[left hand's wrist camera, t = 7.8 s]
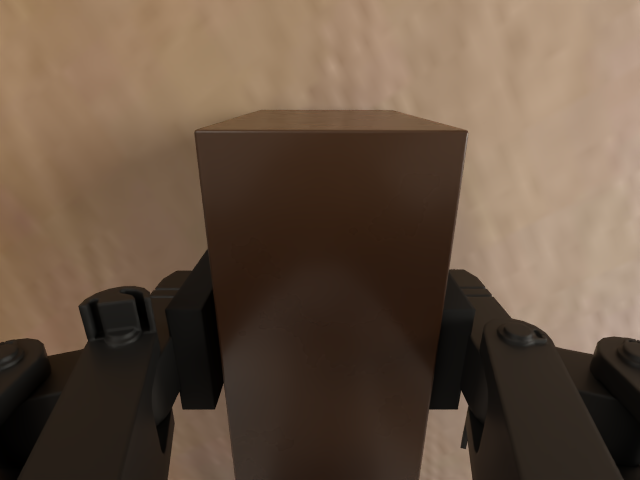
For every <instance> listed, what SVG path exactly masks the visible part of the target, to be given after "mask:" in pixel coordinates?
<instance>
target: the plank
mask: <svg viewBox="0 0 640 480" xmlns="http://www.w3.org/2000/svg"><path fill="white" fill-rule="evenodd" d="M194 134H195V142H196V151H197V159H198V168H199V176H200V185H201V193H202V202H203V210H204V219H205V227H206V236H207V244H208V253H209V261H210V269H211V278H212V286H213V295H214V303H215V312H216V320H217V329H218V337H219V346H220V354H221V363H222V371H223V379H224V388H225V396H226V405H227V413H228V422H229V430H230V439H231V447H232V456H233V464H234V473H235V480H419V476H420V469H421V462H422V455H423V448H424V441H425V434H426V427H427V420H428V413H429V406H430V399H431V392H432V385H433V378H434V371H435V364H436V357H437V350H438V343H439V336H440V329H441V322H442V315H443V308H444V301H445V294H446V287H447V280H448V273H449V266H450V259H451V252H452V245H453V238H454V231H455V224H456V217H457V210H458V203H459V196H460V189H461V182H462V175H463V168H464V161H465V154H466V147H467V139H468V131H467V130H464V129H460V128H456V127H452V126H449V125H445V124H441V123H438V122H434V121H430V120H426V119H423V118H419V117H415V116H412V115H408V114H404V113H400V112H397V111H393V110H260V111H256V112H253V113H250V114H246V115H243V116H240V117H237V118H233V119H230V120H227V121H224V122H220V123H217V124H214V125H210V126H207V127H204V128H201V129H197V130H195V132H194Z"/></svg>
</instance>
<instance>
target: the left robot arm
mask: <svg viewBox="0 0 640 480" xmlns="http://www.w3.org/2000/svg"><path fill="white" fill-rule="evenodd" d="M78 307H79V310H80V314H81V317H82V321H83V325H84V328H85V332H86V335H87V339H88V342H87V344H86V346H85V348H84V349H81V350H77V351H72V352H67V353H62V354H56V355H51V356H47V353H46V350H45V347H44V344H43V343H41V342H40V341H39V340H36V339H28V338H26V339H17V340H9V341H6V342H1V343H0V480H168V472H169V464H170V456H171V448H172V440H173V432H174V424H175V423H174V416H173V411H172V406H173V404H174V402H175V400H176V397H177V395H178V393H179V392H180V397H181V403H182V408H183V409H215V408H216V405H217V402H218V399H219V396H220V393H221V389H222V386H223V383H224V379H223V371H222V363H221V354H220V346H219V337H218V329H217V320H216V312H215V303H214V295H213V286H212V278H211V269H210V261H209V253H208V249H207V251H206V252H205V253H204V255H203V256H202V258H201V259H200V261H199V262H198V263H197V265H196V266H195V268H194V269H193V270H192V271H176V272H174V273H172V274H171V275H169V276H167V277H166V278H164V279H163V280H162V281H161V282H160V283H159V285H158V286H157V287H156V288H155V290H154V291H153V292H152V293H151V294H150V292H149V291H147V290H146V289H145V288H141V287H136V286H122V287H117V288H112V289H108V290H105V291H102V292H99V293H96V294H94V295H92V296H91V297H89V298H87V299H85V300H84V301H83V302H82V303H81V304H80V305H79V306H78ZM461 390H462V393H463V395H464V397H465V399H466V401H467V403H468V405H469V406H468V411H467V416H466V421H465V426H464V431H463V437H462V442H461V448H463V449H466V446H467V441H468V447H469V455H470V463H471V471H472V479H473V480H640V341H639V340H637V341H636V340H635V339H631V338H622V337H607V338H603V339H601V340H600V341H599V342H598V343H597V346H596V349H595V352H594V355H593V354H588V353H582V352H577V351H572V350H567V349H562V348H558V347H555V345H554V343H553V341H552V340H551V339H550V337H549V336H548V335H547V334H546V333H545V332H544V331H542V330H541V329H539V328H538V327H536V326H534V325H531V324H529V323H527V322H524V321H520V320H516V319H512V318H511V317H510V316H509V315H508V314H507V312H506V311H505V310H504V309H503V308H502V306H501V305H500V304H499V303H498V302H497V300H496V299H495V298H494V297H492V294H491V293H490V292H489V291H488V290H487V289H485V286H484V285H483V284H482V283H481V281H480V280H479V279H478V278H477V277H476V276H474V275H472V274H470V273H469V272H467V271H465V270H449V273H448V280H447V287H446V294H445V301H444V308H443V315H442V322H441V329H440V336H439V343H438V350H437V357H436V364H435V371H434V378H433V385H432V392H431V399H430V406H429V409H458V405H459V399H460V394H461Z"/></svg>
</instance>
